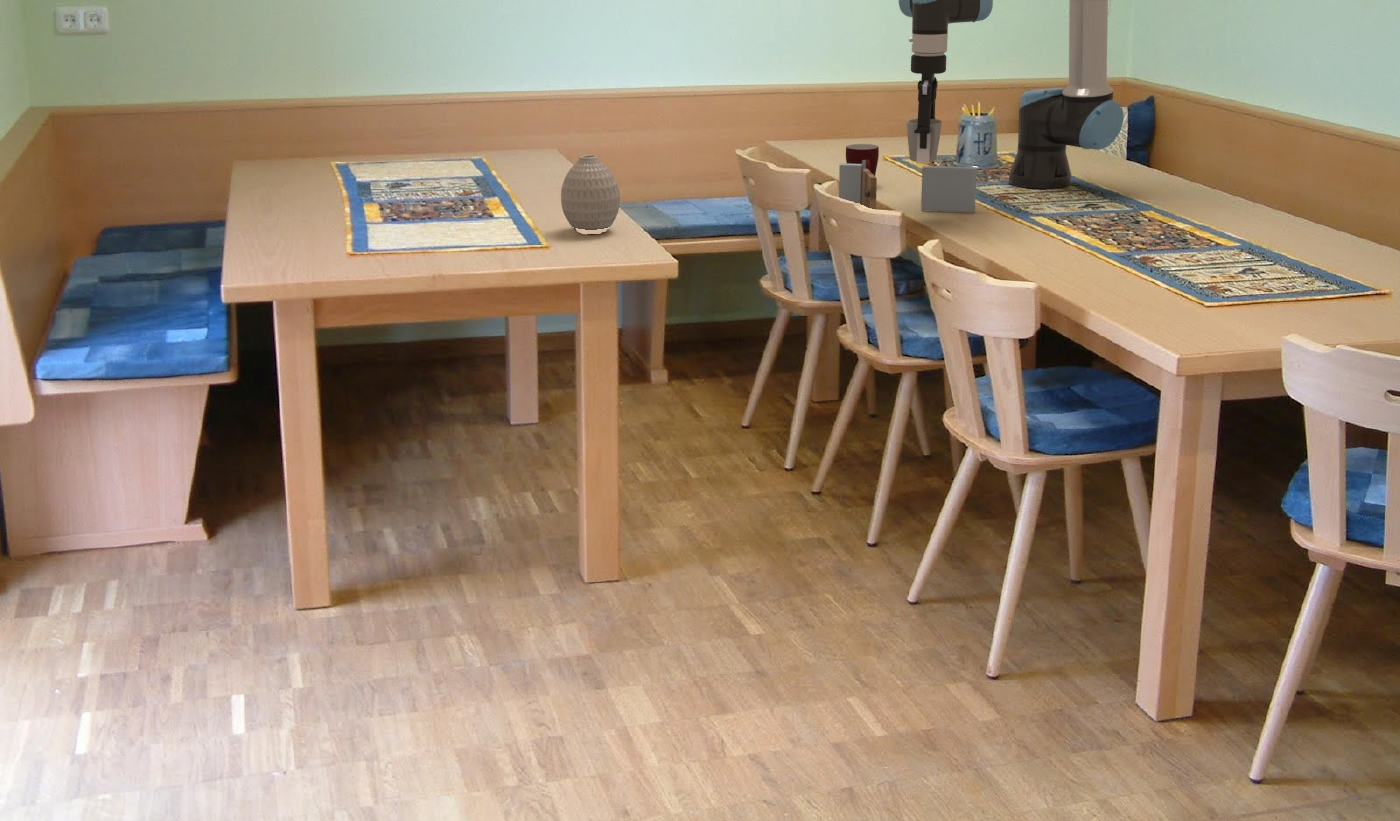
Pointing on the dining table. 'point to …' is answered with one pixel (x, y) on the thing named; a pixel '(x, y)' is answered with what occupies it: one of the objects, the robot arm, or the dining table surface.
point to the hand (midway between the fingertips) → (924, 159)
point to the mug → (863, 155)
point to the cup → (934, 138)
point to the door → (868, 189)
